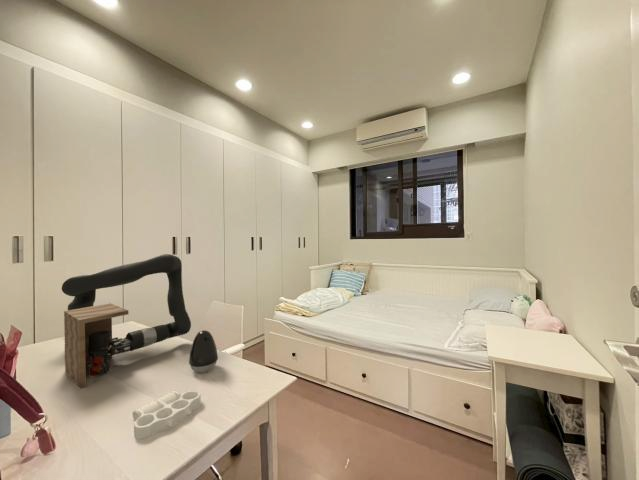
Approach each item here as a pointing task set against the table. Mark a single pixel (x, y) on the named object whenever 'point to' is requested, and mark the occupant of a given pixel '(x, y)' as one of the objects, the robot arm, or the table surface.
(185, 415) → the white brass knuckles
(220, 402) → the table surface
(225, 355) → the table surface
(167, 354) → the table surface
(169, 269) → the robot arm
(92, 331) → the wooden stand
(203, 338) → the black rounded cone
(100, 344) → the deodorant
